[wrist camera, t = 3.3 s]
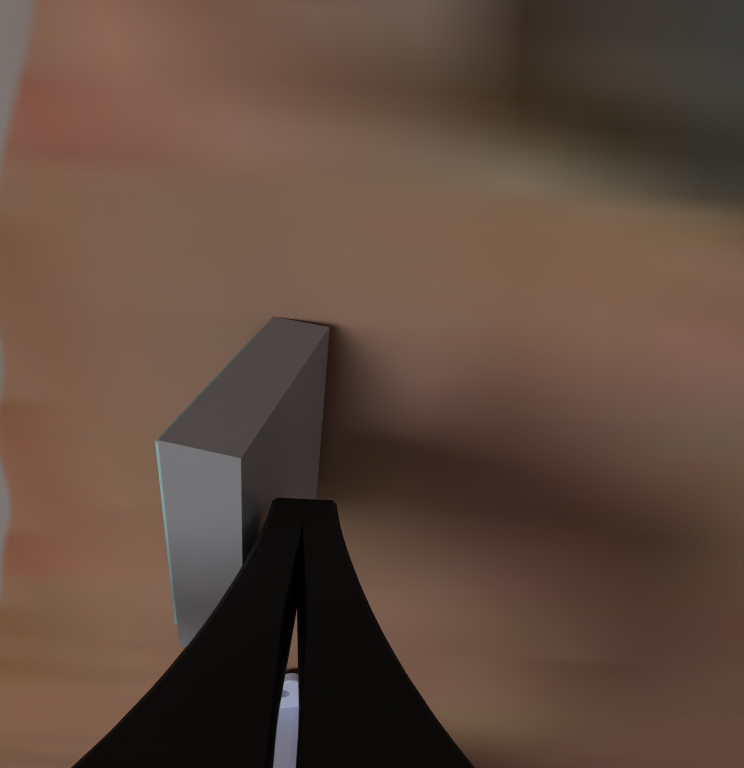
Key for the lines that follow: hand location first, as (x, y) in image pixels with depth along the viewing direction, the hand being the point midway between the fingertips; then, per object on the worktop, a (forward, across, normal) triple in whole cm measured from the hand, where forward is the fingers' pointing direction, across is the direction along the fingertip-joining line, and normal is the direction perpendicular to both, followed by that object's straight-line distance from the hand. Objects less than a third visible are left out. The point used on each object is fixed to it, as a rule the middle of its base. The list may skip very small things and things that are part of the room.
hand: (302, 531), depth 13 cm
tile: (+5, 0, 0) cm, 5 cm away
